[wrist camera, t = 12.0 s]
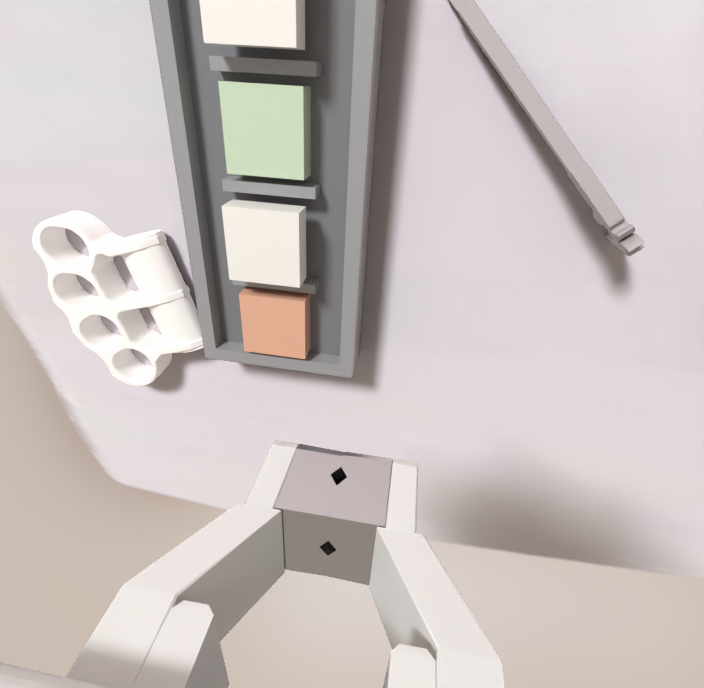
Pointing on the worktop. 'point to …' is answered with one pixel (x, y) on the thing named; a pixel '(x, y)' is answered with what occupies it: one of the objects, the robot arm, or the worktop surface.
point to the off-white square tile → (265, 242)
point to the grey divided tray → (314, 192)
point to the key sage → (266, 129)
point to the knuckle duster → (119, 294)
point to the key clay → (276, 321)
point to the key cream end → (254, 23)
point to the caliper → (549, 129)
